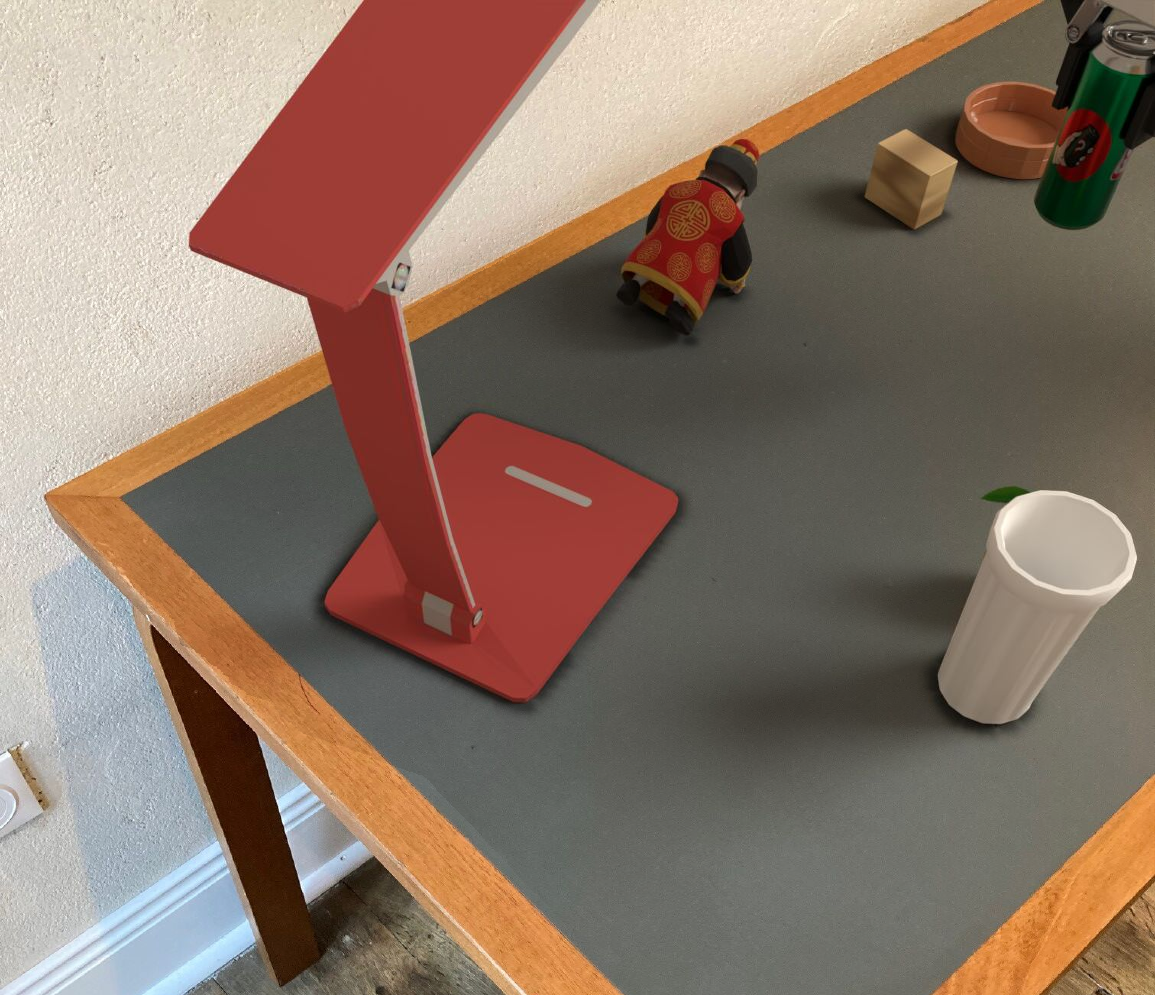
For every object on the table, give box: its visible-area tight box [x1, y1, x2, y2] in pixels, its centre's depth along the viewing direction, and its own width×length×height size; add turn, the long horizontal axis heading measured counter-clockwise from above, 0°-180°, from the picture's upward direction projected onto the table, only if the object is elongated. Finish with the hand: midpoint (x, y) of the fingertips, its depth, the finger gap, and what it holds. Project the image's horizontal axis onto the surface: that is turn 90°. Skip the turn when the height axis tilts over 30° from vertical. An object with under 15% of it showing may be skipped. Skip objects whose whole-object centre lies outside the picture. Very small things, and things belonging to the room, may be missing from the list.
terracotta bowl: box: [954, 81, 1068, 180], centre depth 108 cm, size 11×11×3 cm
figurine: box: [615, 138, 760, 336], centre depth 94 cm, size 10×10×15 cm
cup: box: [937, 489, 1138, 725], centre depth 71 cm, size 8×8×14 cm
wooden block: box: [864, 128, 959, 231], centre depth 102 cm, size 6×4×5 cm, turn 39°
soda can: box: [1033, 19, 1155, 231], centre depth 79 cm, size 5×5×12 cm
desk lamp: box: [188, 0, 679, 703], centre depth 67 cm, size 18×38×40 cm, turn 151°
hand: (1104, 118), depth 78 cm, fingers closed on soda can, 5 cm apart
